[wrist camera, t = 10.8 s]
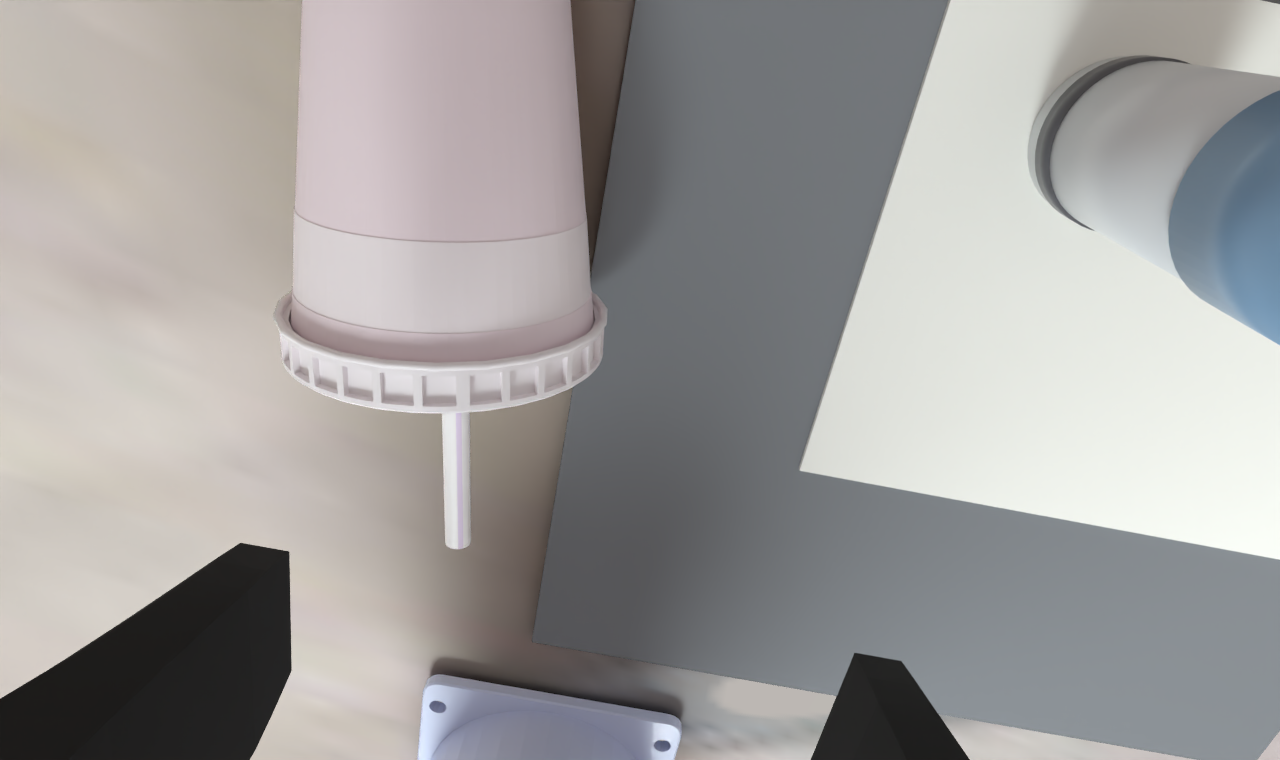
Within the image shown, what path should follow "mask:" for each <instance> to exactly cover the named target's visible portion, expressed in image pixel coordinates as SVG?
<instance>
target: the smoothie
mask: <svg viewBox="0 0 1280 760" xmlns="http://www.w3.org/2000/svg"><path fill="white" fill-rule="evenodd" d="M607 311H608V310H607V307H606V306H605V305H604V304H603V302H602V301H601V300H600V298H599V297H598V296H597V295H596V294H595V293H593V292H592V290H591V283H590V265H589V247H588V229H587V214H586V207H585V194H584V180H583V166H582V153H581V139H580V125H579V111H578V98H577V84H576V70H575V56H574V43H573V29H572V15H571V1H570V0H302V18H301V47H300V75H299V103H298V132H297V160H296V188H295V206H294V234H293V286H292V290H291V291H290V292H289V293H287V294H286V295H285V296H284V297H282V298H281V299H280V300H279V301H278V303H277V306H276V308H275V311H274V314H273V319H274V321H275V323H276V325H277V327H278V329H279V334H280V344H281V358H282V362H283V365H284V367H285V369H286V370H287V371H288V373H289V374H290V375H291V376H292V377H293V378H295V379H296V380H297V381H298V382H300V383H301V384H303V385H305V386H307V387H308V388H310V389H312V390H314V391H316V392H318V393H320V394H322V395H325V396H328V397H331V398H334V399H337V400H340V401H343V402H346V403H349V404H354V405H359V406H364V407H369V408H374V409H379V410H389V411H399V412H409V413H442V437H443V476H444V516H445V544H446V546H447V547H449V548H451V549H463V548H466V547H467V546H469V545H470V543H471V492H470V412H479V411H489V410H495V409H501V408H508V407H514V406H519V405H523V404H527V403H531V402H534V401H538V400H542V399H546V398H549V397H551V396H554V395H556V394H558V393H561V392H563V391H566V390H568V389H570V388H572V387H574V386H575V385H577V384H578V383H580V382H582V381H583V380H585V379H586V378H588V377H589V376H590V375H591V374H592V373H593V372H594V371H595V370H596V369H597V367H598V366H599V364H600V362H601V360H602V356H603V340H604V327H605V326H606V325H607Z"/></svg>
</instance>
